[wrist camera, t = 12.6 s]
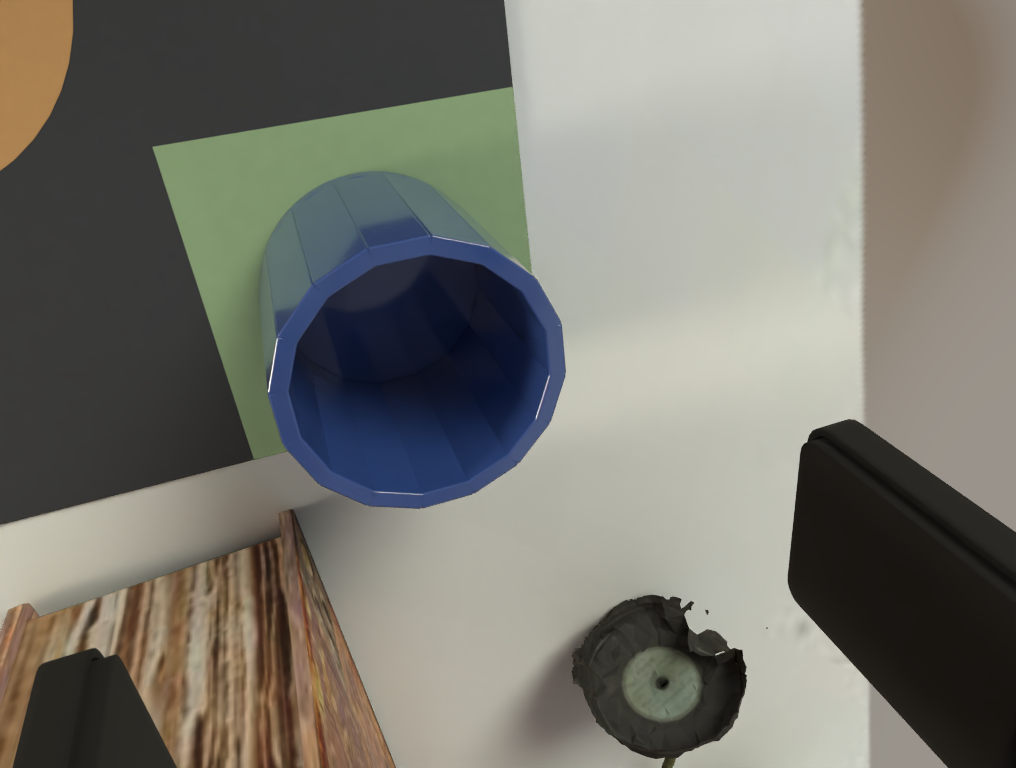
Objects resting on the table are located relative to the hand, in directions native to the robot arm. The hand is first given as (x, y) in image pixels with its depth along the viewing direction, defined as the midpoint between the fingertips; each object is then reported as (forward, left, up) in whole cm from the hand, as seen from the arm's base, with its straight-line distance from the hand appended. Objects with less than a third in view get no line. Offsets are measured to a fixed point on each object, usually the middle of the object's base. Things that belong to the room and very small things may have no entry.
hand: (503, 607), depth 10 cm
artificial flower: (+11, -28, -16) cm, 34 cm away
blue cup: (+1, -1, -15) cm, 15 cm away
